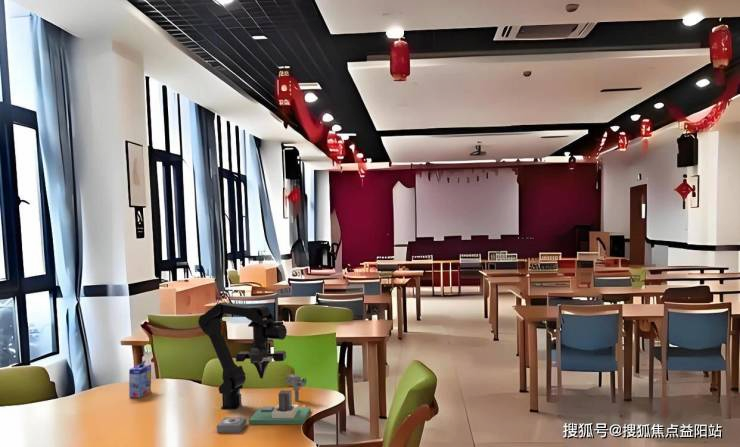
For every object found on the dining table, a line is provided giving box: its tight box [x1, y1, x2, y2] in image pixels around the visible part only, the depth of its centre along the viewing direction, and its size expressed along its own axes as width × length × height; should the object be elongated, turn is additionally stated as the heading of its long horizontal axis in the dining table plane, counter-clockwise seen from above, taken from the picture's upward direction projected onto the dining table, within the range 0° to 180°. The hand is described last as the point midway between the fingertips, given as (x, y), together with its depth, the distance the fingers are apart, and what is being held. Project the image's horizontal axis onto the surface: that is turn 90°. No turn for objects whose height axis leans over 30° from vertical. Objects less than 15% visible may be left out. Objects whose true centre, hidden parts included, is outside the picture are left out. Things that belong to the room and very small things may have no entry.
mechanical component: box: [285, 373, 307, 402], centre depth 227 cm, size 3×10×10 cm, turn 53°
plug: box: [278, 389, 293, 412], centre depth 206 cm, size 4×5×8 cm
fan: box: [216, 416, 247, 434], centre depth 197 cm, size 8×8×3 cm
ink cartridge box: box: [128, 359, 152, 398], centre depth 242 cm, size 10×6×14 cm, turn 175°
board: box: [248, 404, 311, 425], centre depth 207 cm, size 20×14×4 cm
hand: (261, 378), depth 215 cm, fingers closed
